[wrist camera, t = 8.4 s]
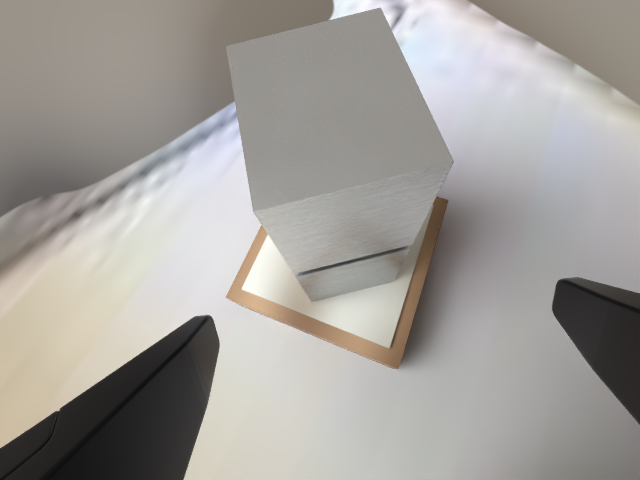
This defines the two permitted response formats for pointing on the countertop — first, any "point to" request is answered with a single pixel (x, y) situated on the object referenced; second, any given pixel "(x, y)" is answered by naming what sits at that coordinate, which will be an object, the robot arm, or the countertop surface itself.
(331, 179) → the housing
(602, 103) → the countertop surface
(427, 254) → the stand
